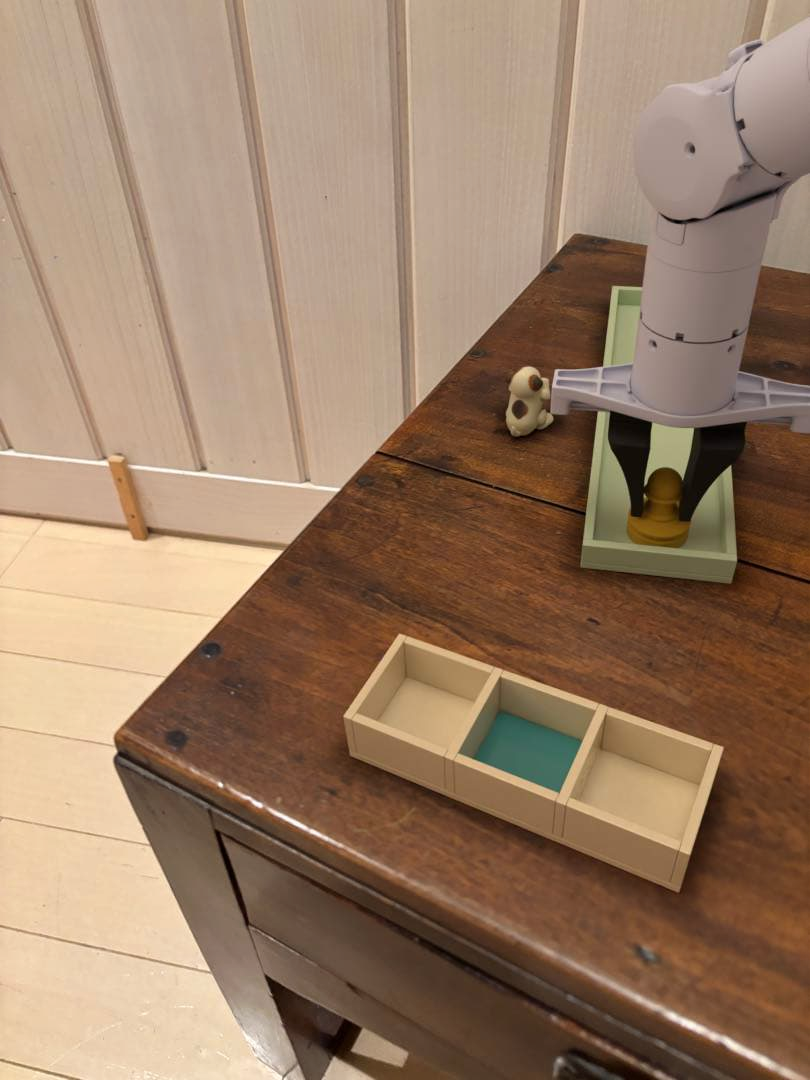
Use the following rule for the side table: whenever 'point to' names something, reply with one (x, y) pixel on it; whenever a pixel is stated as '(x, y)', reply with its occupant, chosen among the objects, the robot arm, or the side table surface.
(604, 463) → the tray
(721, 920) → the side table surface
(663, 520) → the chess piece
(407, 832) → the side table surface
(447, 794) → the three-compartment organizer
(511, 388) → the toy dog
